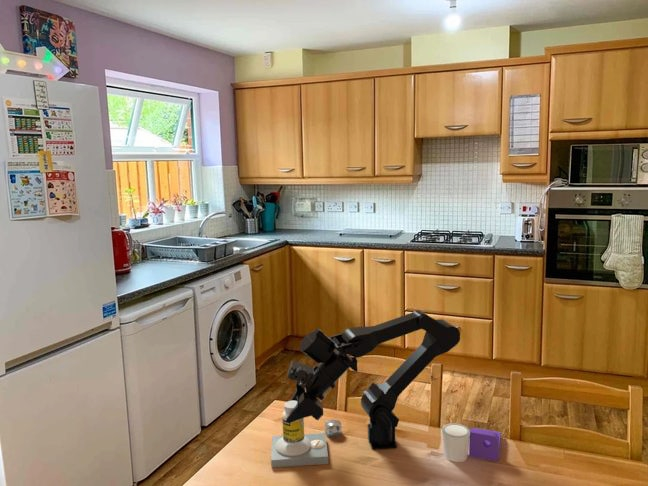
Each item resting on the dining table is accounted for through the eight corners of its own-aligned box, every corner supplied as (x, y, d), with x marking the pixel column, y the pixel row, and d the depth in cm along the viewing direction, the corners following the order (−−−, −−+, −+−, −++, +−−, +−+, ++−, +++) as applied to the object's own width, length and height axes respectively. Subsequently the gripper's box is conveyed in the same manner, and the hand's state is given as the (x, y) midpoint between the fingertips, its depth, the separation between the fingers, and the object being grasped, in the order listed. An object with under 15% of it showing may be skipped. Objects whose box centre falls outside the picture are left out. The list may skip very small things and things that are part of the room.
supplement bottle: (280, 444, 133) (278, 408, 131) (286, 432, 138) (284, 398, 137) (301, 446, 132) (299, 410, 130) (306, 434, 137) (305, 399, 135)
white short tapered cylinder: (474, 454, 133) (475, 429, 132) (461, 467, 128) (461, 440, 127) (449, 445, 138) (450, 420, 137) (436, 456, 133) (436, 430, 132)
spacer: (340, 429, 147) (340, 419, 147) (342, 437, 143) (341, 427, 142) (324, 429, 147) (324, 419, 146) (325, 438, 143) (325, 428, 142)
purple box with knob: (497, 462, 131) (498, 436, 129) (469, 457, 133) (469, 432, 132) (500, 437, 141) (501, 413, 140) (474, 433, 144) (475, 409, 143)
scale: (324, 439, 142) (324, 430, 141) (328, 463, 131) (328, 454, 131) (272, 443, 141) (272, 434, 140) (271, 467, 130) (271, 457, 130)
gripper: (303, 338, 140) (264, 380, 142) (307, 367, 122) (261, 415, 123) (334, 364, 142) (295, 405, 144) (342, 396, 124) (297, 443, 125)
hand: (287, 415), depth 134 cm, fingers closed on supplement bottle, 5 cm apart
